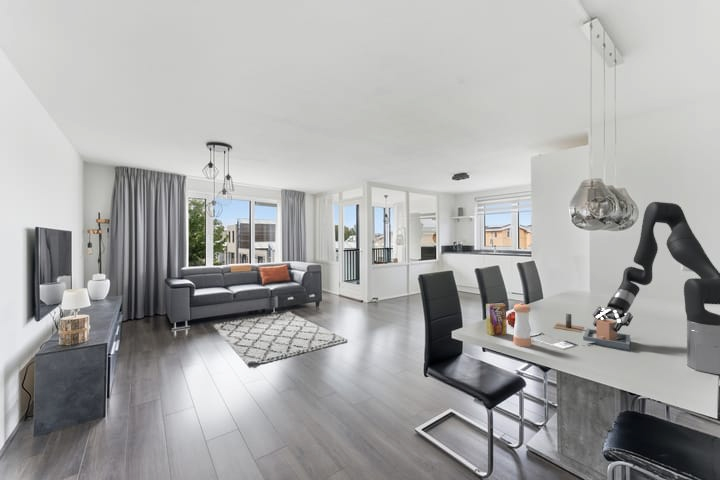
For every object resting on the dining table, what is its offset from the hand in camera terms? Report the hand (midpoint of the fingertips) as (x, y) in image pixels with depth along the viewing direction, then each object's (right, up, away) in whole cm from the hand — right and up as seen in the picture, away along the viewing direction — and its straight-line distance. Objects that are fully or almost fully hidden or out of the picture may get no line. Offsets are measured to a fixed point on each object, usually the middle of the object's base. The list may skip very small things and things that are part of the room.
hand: (604, 328), depth 141 cm
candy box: (-43, -7, +15) cm, 46 cm away
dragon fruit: (-27, -7, +27) cm, 39 cm away
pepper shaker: (-38, -8, 0) cm, 39 cm away
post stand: (-4, -7, +19) cm, 20 cm away
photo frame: (-22, -8, +4) cm, 23 cm away
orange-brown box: (+1, -6, +1) cm, 6 cm away
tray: (+1, -7, +1) cm, 7 cm away
